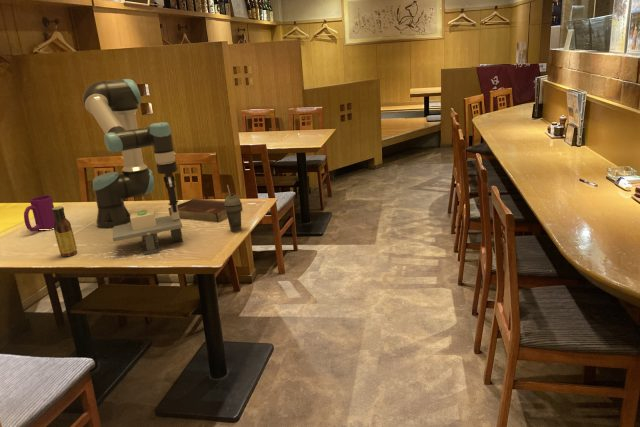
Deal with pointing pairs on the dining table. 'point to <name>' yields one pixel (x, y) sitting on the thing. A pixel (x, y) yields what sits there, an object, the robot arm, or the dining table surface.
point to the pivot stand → (152, 241)
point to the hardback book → (202, 210)
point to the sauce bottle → (63, 233)
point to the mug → (40, 213)
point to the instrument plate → (142, 232)
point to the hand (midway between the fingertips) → (176, 219)
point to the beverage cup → (233, 211)
